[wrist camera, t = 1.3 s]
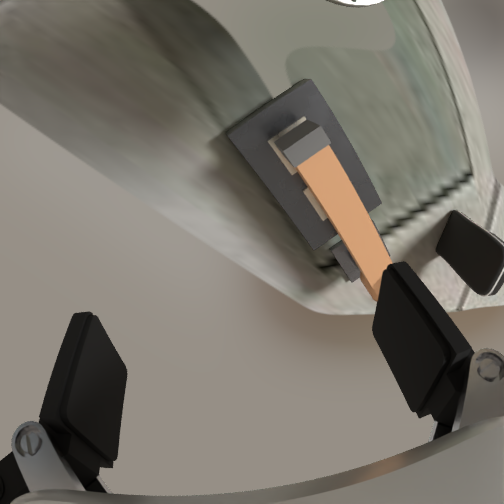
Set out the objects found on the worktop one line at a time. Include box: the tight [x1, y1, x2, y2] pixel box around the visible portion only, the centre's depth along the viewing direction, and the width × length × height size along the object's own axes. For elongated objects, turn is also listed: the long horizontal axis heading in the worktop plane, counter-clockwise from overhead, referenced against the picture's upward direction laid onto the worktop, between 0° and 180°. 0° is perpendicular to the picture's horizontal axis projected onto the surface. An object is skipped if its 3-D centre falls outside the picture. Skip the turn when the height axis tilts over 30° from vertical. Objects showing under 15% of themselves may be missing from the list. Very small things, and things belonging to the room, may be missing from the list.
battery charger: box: [436, 210, 504, 296], centre depth 33 cm, size 7×4×11 cm, turn 167°
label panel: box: [226, 79, 382, 250], centre depth 30 cm, size 9×15×2 cm, turn 35°
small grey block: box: [330, 220, 390, 282], centre depth 36 cm, size 6×6×4 cm
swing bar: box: [274, 120, 393, 301], centre depth 28 cm, size 4×20×3 cm, turn 35°
